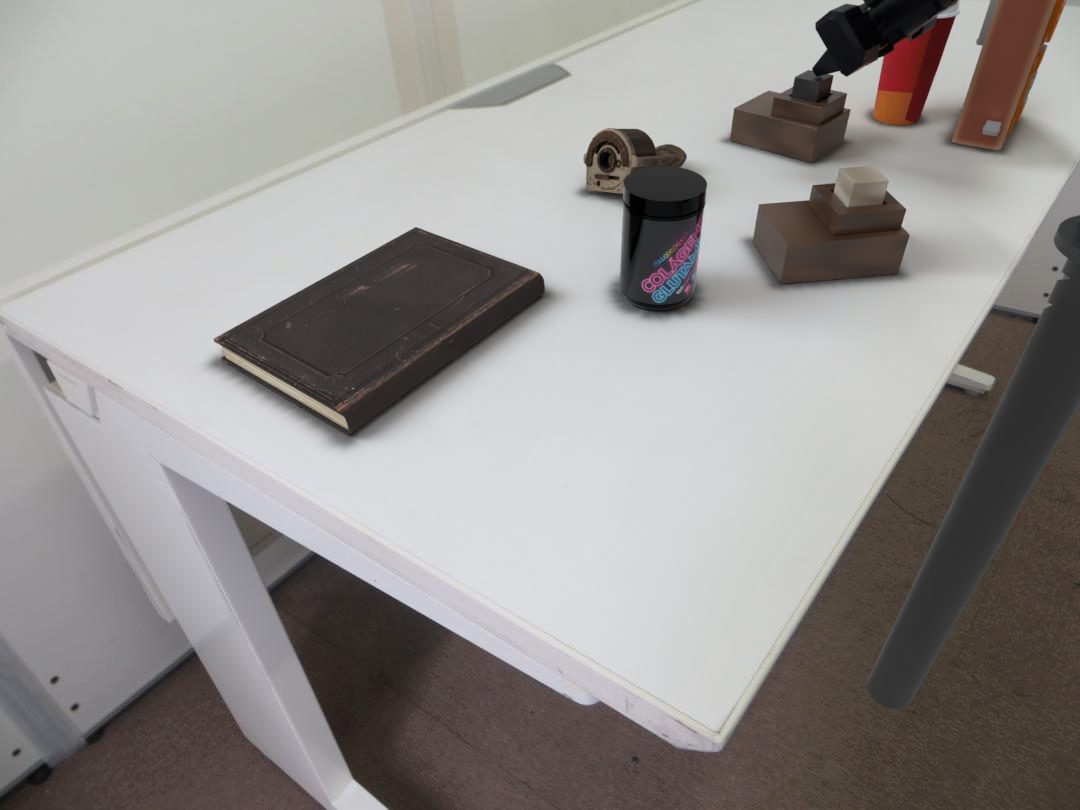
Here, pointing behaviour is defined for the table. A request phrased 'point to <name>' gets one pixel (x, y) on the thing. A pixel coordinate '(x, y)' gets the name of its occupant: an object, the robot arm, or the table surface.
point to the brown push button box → (830, 237)
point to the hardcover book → (378, 325)
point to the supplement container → (661, 236)
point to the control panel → (1005, 69)
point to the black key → (812, 86)
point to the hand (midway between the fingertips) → (815, 72)
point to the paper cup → (911, 73)
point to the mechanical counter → (624, 157)
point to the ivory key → (860, 186)
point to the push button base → (791, 124)
